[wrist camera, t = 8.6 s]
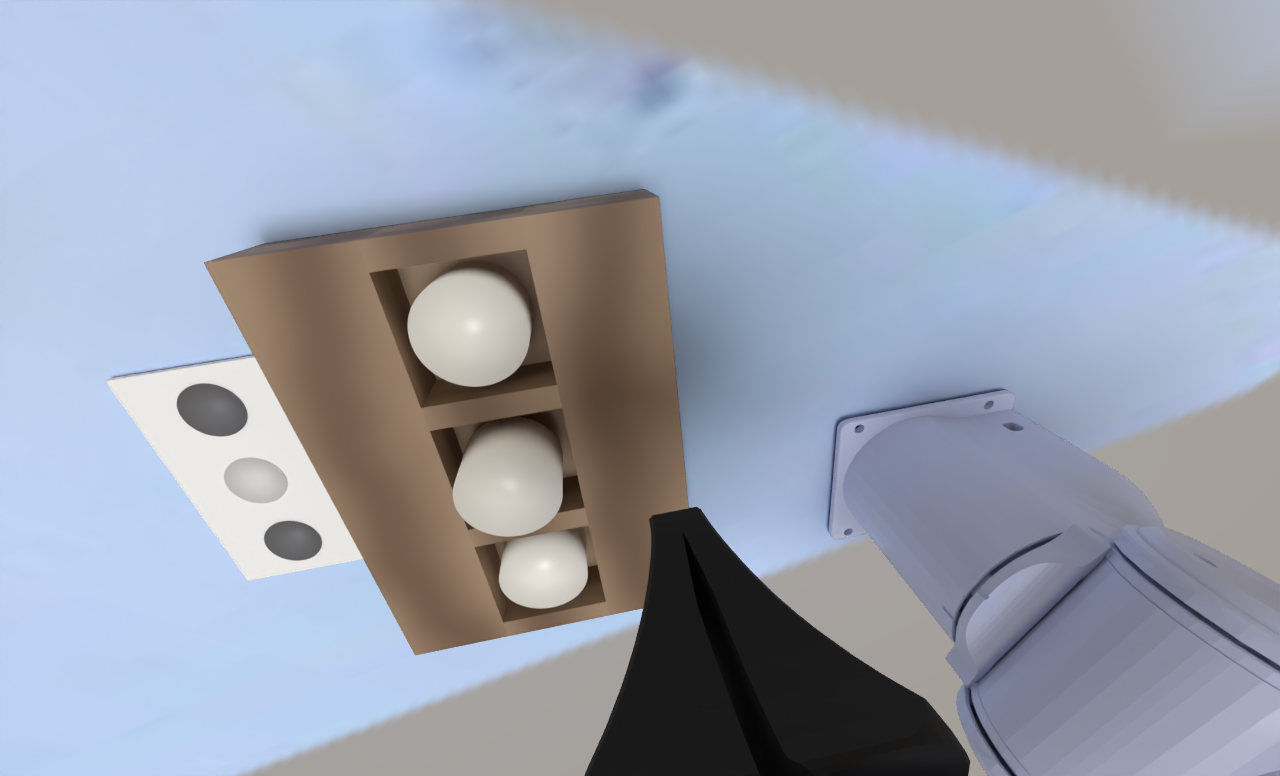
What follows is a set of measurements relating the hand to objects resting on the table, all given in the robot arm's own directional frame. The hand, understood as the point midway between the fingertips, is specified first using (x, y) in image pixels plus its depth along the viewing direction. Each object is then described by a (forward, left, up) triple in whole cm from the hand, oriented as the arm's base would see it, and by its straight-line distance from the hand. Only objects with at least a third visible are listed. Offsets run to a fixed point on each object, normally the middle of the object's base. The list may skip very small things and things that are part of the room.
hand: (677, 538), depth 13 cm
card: (+17, +1, -10) cm, 20 cm away
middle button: (+6, +1, -8) cm, 10 cm away
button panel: (+6, +1, -10) cm, 11 cm away
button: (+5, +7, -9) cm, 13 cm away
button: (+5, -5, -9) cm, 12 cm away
